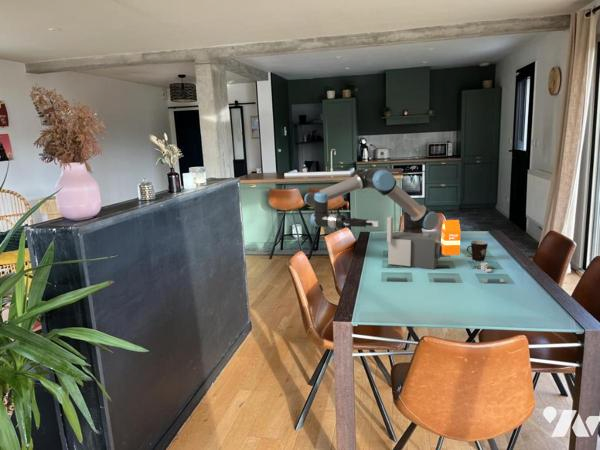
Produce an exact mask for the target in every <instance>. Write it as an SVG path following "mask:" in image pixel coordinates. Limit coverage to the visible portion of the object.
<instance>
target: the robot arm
mask: <svg viewBox="0 0 600 450" xmlns="http://www.w3.org/2000/svg"><path fill="white" fill-rule="evenodd" d="M364 189H374V190H376V191H377V192H379V193H380V195H382V196H387V197H389V199H390V200H391V201H393V202H394V203H395V204H396V205H398V206H399V207H400V208H401V209H402V210H403V229H402V232H406V233H420V234H423V233H424V231H423V230H425V231H426V230H427V231H432V230H434V229H435V228H436V227H437V226H438V224H439V220H440V219H439V214H437V213H436V212H435V211H431V209H429V208H428V207H426V205H424V204H419V203H418V202H417V201H416V200H415V199H414V198H413V197H411V195H409V194H408V193H407V192H406V191H405V190H404V189H403V188H401V187H400V186H399V185H398V184H397V180H396V178H395V176H394V174H392V172H390V171H389V170H387V169H386V170H385V169H377V168H369V169H367V170H363V171H362V172H359V173H356V174H354V176H353V177H351V178H348V179H345V180H343V181H341V182H338V183H336V184H333V185H330V186H328V187H326V188H322V189H320V190H318V191H315V192H307V193H306V194H305V195H304V199H303V200H304V203H305V204H306V205H307V206H309V207H312V208H314V213H311V215H310V219H309V220H310V224H311V226H313V227H316V228H317V227H319V228H331V229H344V228H345V227H346V228H347V227H353V228H354V227H355V228H357V227H358V228H359V227H362V228H363V227H364V228H367V227H373V228H374V227H375V228H377V227H379V226H380V225H379V224H380V223H379V220H368V218H367V219H362V218H355V217H352V218H351V217H348V218H346V215H345V214H334V213H333V214H332V213H331V214H330V213H329V210H328V209H329V206H328V205H329V203H328V201H330V200H334V199H335V198H338V197H342V196H343V195H346V194H348V193H351V192H353V191H357V190H364Z"/></svg>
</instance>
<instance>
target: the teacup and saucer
mask: <svg viewBox="0 0 600 450" xmlns="http://www.w3.org/2000/svg"><path fill="white" fill-rule="evenodd" d="M477 268H478V267H477ZM477 268H475V270H476V271H477V272H479V271H478V270H479V269H478V270H477ZM479 268H481V271H483V270H485V271H484V273H491V272H492V273H493V272H494V271H493V269H492V268H489V269H487V268H488V262H485V261H481V262H480V267H479Z"/></svg>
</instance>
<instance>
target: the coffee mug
mask: <svg viewBox="0 0 600 450" xmlns="http://www.w3.org/2000/svg"><path fill="white" fill-rule="evenodd" d="M488 244H489V243H488V242H487V241H485V240H471V241H470V245H469V246H467V248H466V251H467V253H468V254H469V255H471V260H472V259H473V260H472V261H474V260H475V262H485V259H486V254H487V250H488ZM469 248H471V252H470V251H469Z"/></svg>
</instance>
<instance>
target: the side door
mask: <svg viewBox="0 0 600 450" xmlns="http://www.w3.org/2000/svg"><path fill="white" fill-rule="evenodd" d="M393 226H394V217H393V216H387V218H386V242H387V245H388V246H387V247H388V251H387V254H388V255H387V264H388V265H389V264H394V265H393V266H395V265H403V266H402V267H404V266H411V240H403V239H393V233H394V232H393V231H394V230H393V229H394V227H393Z"/></svg>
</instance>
